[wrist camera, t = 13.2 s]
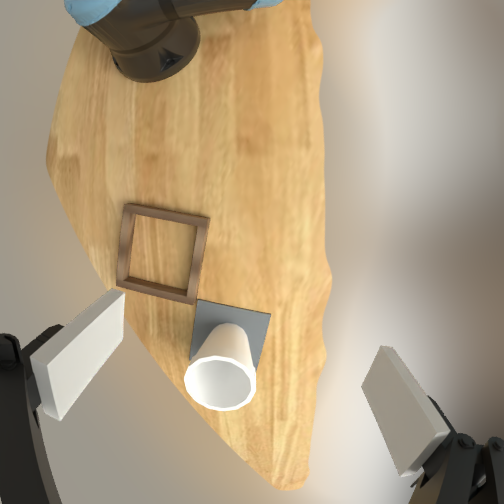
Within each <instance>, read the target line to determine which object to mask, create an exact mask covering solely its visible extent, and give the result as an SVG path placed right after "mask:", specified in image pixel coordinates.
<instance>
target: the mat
mask: <svg viewBox="0 0 504 504" xmlns="http://www.w3.org/2000/svg"><path fill="white" fill-rule="evenodd" d="M270 317H271V314H268V313H263V312H258V311H252V310H247V309H243V308H238V307H233V306H228V305H223V304H219V303H214V302H210V301H205V300H201V299H198V302H197V309H196V315H195V322H194V329H193V336H192V343H191V350H190V358H189V360H190V361H191V359H192V357H193V356H195V355H196V354H197V352H198V351H199V349H200V348H201V346H202V345H203V343H204V342H205V340H206V339H207V337H208V336H209V334H210V333H211V332H212V330H213V329H214V328H215V327H217V326H218V325H220V324H224V323H232V324H236V325H238V326H239V327H241V328H242V329H243V330H244V331H245V333H246V335H247V337H248V342H249V348H250V353H251V358H252V363H253V366H254V368H255V373H256V370H257V366H258V363H259V359H260V355H261V352H262V348H263V344H264V340H265V336H266V332H267V329H268V325H269V321H270Z"/></svg>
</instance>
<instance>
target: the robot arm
mask: <svg viewBox="0 0 504 504" xmlns="http://www.w3.org/2000/svg"><path fill="white" fill-rule="evenodd" d="M282 1H283V0H64V4H65V8H66V10H67V12H68V13H69V14H70V15H71V16H72V17H73V18H74V19H75V21H76V22H77V23H78V24H79V25H80V26H82V27H84V28H85V29H86V30H88V31H89V32H90V33H91V34H93V35H94V36H95V37H96V38H98V39H99V40H100V41H101V42H103V43H104V44H105V45H106V46H107V47H109V48H110V51H111V54H112V57H113V61H114V64H115V66H116V67H117V69H118V70H119V71H120V72H121V73H122V74H124V75H125V76H126V77H127V78H129V79H131V80H133V81H137V82H144V83H148V82H156V81H160V80H163V79H166V78H168V77H170V76H172V75H174V74H176V73H177V72H179V71H180V70H181V69H183V68H184V67H185V66H186V65H187V64H188V63H189V62H190V61H191V59H192V58H193V57H194V55H195V53H196V52H197V49H198V47H199V43H200V31H199V28H198V25H197V23H196V21H195V19H194V18H193V16H199V15H205V14H211V13H217V12H224V11H232V10H242V9H243V10H245V11H249V10H252V9H254V8H263V7H272V6H275V5H277V4H279V3H281V2H282ZM124 301H125V292H122V291H119V290H116V289H112V288H111V289H110V290H109V291H108V292H107V293H105V294H104V295H103V296H101V297H100V298H99V299H98V300H96V301H95V302H94V303H93V304H91V305H90V306H89V307H88V308H86V309H85V310H84V311H83V312H81V313H80V314H79V315H78V316H77V317H75V318H74V319H73V320H72V321H71V322H70V323H68V324H67V325H66V326H65V327H64V326H61V325H60V324H58V325H55V326H52V327H49V328H48V329H46V330H45V331H44V332H43V333H41V335H39V336H38V337H36V339H34V340H33V341H31V342H30V343H29V344H28V345H27V346H25V347H24V348H23V349H22V350H21V348H20V344H19V340H18V339H17V338H16V337H15V336H13V335H11V334H5V333H3V334H0V497H1V501H2V504H62V502H61V499H60V497H59V494H58V491H57V488H56V485H55V482H54V479H53V476H52V472H51V469H50V466H49V462H48V458H47V454H46V451H45V446H44V442H43V438H42V433H41V429H40V423H39V418H38V413H37V410H36V408H37V407H38V406H39V405H40V403H41V404H42V407H43V410H44V413H45V414H47V415H49V416H51V417H53V418H55V419H57V420H59V421H61V420H62V418H63V417H64V415H65V414H66V413H67V411H68V410H69V409H70V407H71V406H72V404H73V403H74V402H75V401H76V399H77V398H78V397H79V395H80V394H81V392H82V391H83V390H84V389H85V387H86V386H87V385H88V383H89V382H90V380H91V379H92V378H93V377H94V375H95V374H96V373H97V372H98V370H99V369H100V368H101V366H102V365H103V364H104V363H105V361H106V360H107V359H108V357H109V356H110V355H111V354H112V352H113V351H114V350H115V348H116V347H117V346H118V345H119V344H120V342H121V341H122V340H123V320H124ZM361 387H362V389H363V392H364V394H365V396H366V398H367V401H368V403H369V405H370V407H371V410H372V412H373V414H374V416H375V419H376V421H377V423H378V426H379V428H380V430H381V433H382V435H383V437H384V440H385V442H386V444H387V447H388V449H389V452H390V454H391V456H392V459H393V461H394V464H395V466H396V469H397V471H398V474H399V476H400V477H403V476H410V475H414V474H415V473H416V472H417V471H418V470H419V469H420V468H421V466H422V467H423V469H424V472H423V473H422V474H421V475H420V477H419V478H418V479H417V480H416V481H415V482H414V483H413V484H412V485H411V487H413V486H414V485H415V484H417V485H416V488H415V490H414V492H413V495H412V497H411V499H410V502H409V504H504V441H503V440H502V439H501V438H498V437H491V438H490V439H489V440H488V441H487V442H486V443H485V445H478V444H476V443H475V441H474V440H473V439H472V438H471V437H470V436H468V435H467V434H463V433H458V434H457V433H456V431H455V430H454V428H453V427H452V425H451V423H450V422H449V421H448V419H447V418H446V416H444V413H443V412H442V410H440V407H439V406H438V405H437V403H436V402H435V401H434V400H433V399H432V398H431V397H429V396H427V395H426V393H425V392H424V391H423V389H422V388H421V386H420V385H419V384H418V382H417V380H416V379H415V378H414V376H413V375H412V373H411V372H410V371H409V369H408V368H407V366H406V365H405V364H404V362H403V361H402V359H401V358H400V357H399V356H398V354H397V353H396V351H395V350H394V349H393V347H388V346H380V348H379V351H378V353H377V355H376V357H375V359H374V361H373V364H372V366H371V368H370V370H369V372H368V374H367V376H366V378H365V380H364V382H363V384H362V386H361ZM485 477H486V482H485V484H484V485H482V486H480V482H481V481H482V480H483V479H484V478H485Z"/></svg>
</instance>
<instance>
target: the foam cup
mask: <svg viewBox="0 0 504 504" xmlns="http://www.w3.org/2000/svg"><path fill="white" fill-rule="evenodd" d="M184 381H185V386H186V390H187V392H188V393H189V394H190V395H191V397H192V398H193V399H194V400H195V401H196V402H198V403H199V404H201V405H203V406H205V407H207V408H209V409H214V410H220V411H228V410H234V409H239V408H240V407H242V406H244V405H245V404H247V403H248V402H250V400H251V399H252V397H253V395H254V393H255V392H256V373H255V368H254V366H253V363H252V358H251V353H250V348H249V342H248V337H247V335H246V333H245V331H244V330H243V329H242V328H241V327H239V326H238V325H236V324H232V323H224V324H220V325H218V326H217V327H215V328H214V329H213V330H212V332H211V333H210V334H209V336H208V337H207V339H206V340H205V342H204V343H203V345H202V346H201V348H200V349H199V351H198V352H197V354H196V355H195V356H193V357H192V359H191V361H190V364H189V367H188V369H187V372H186V374H185V377H184Z"/></svg>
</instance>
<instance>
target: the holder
mask: <svg viewBox="0 0 504 504" xmlns="http://www.w3.org/2000/svg"><path fill="white" fill-rule="evenodd" d="M136 214H138V215H143V216H148V217H153V218H158V219H163V220H168V221H174V222H179V223H184V224H189V225H194V226H198V229H197V235H196V241H195V247H194V253H193V259H192V265H191V272H190V278H189V285H188V291H187V290H182V289H178V288H174V287H170V286H165V285H161V284H157V283H153V282H149V281H145V280H141V279H137V278H133V277H129V270H130V259H131V250H132V241H133V233H134V225H135V218H136ZM209 223H210V218H206V217H201V216H196V215H191V214H186V213H181V212H176V211H170V210H165V209H160V208H154V207H149V206H144V205H138V204H133V203H128V204H124V210H123V218H122V226H121V234H120V243H119V254H118V265H117V279H116V286H119V287H122V288H126V289H130V290H134V291H137V292H141V293H145V294H149V295H153V296H157V297H161V298H165V299H169V300H173V301H177V302H181V303H185V304H189V305H194V303H195V301H196V299H197V293H198V286H199V280H200V274H201V268H202V262H203V256H204V251H205V245H206V239H207V234H208V228H209Z"/></svg>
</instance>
